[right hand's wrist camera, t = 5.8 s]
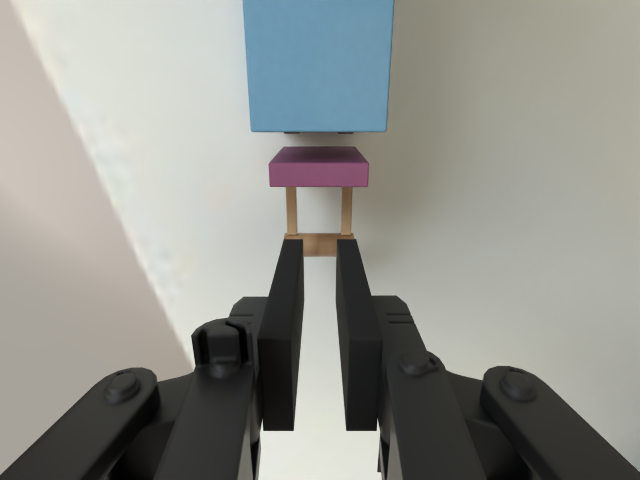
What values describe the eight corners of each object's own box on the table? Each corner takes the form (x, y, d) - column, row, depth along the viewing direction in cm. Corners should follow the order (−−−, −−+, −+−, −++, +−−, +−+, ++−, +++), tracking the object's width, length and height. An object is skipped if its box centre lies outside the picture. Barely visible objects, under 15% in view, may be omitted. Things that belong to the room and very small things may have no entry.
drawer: (352, 237, 27) (363, 283, 20) (286, 237, 27) (274, 283, 20) (368, -238, 18) (397, -451, 11) (270, -237, 18) (238, -450, 11)
